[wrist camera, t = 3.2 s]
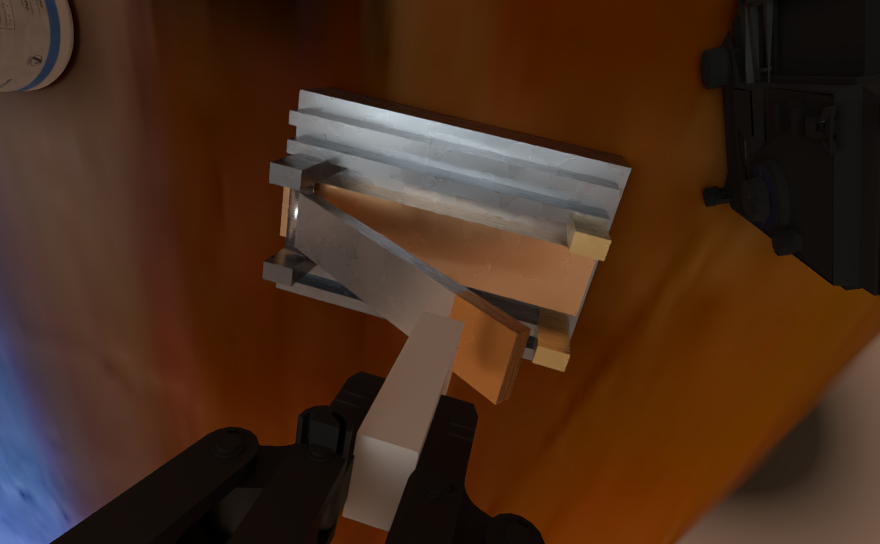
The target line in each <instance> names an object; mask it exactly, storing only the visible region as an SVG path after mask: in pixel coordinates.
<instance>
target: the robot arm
mask: <svg viewBox="0 0 880 544" xmlns="http://www.w3.org/2000/svg"><path fill="white" fill-rule="evenodd" d="M464 323H465V322H462V321H459V320H455V319H452V318H448V317H445V316H441V315H437V314H434V313H430V312H427V311H423V312H422V314H421V316H420V317H419V319H418V321H417V323H416V325H415V327H414V329H413V330H412V332H411V334H410V336H409V338H408V340H407V341H406V343H405V345H404V347H403V349H402V351H401V352H400V354H399V356H398V358H397V360H396V362H395V364H394V365H393V367H392V369H391V371H390V373H389V375H388V376H387V378H386V379H385V378H381V377H378V376H375V375H371V374H368V373H365V372H361V371H360V372H359V373H357V374H355V375H353V376H352V377H350V378H348V379H347V381H346V382H345V384H344V385H343V387H342V388H341V390H340V392H339V393H338V394H337V396H336V397H335V400H333V402H332V403H331V405H330V406H326V405H323V406H314V407H312V408H309V409H306V410H305V411H304V412H302V413H301V414H300V415H299V416H298V425H297V434H296V443H295V444H292V445H288V446H262V445H259V443H258V440H257V437H256V436H255V435H254V434H253V433H252V432H251V431H249V430H246V429H243V428H239V427H227V428H222V429H218V430H216V431H214V432H211V433H209V434H208V435H206V436H205V437H203V438H202V439H200V440H199V441H197V442H196V443H195V444H193V445H192V446H190V447H189V448H187V449H186V450H184V451H183V452H182V453H180V454H179V455H177V456H176V457H174V458H173V459H171V460H170V461H168V462H167V463H166V464H164V465H163V466H161V467H160V468H158V469H157V470H155V471H154V472H153V473H151V474H150V475H148V476H147V477H145V478H144V479H142V480H141V481H140V482H138V483H137V484H135V485H134V486H132V487H131V488H129V489H128V490H127V491H125V492H124V493H122V494H121V495H119V496H118V497H116V498H115V499H113V500H112V501H111V502H109V503H108V504H106V505H105V506H103V507H102V508H100V509H99V510H98V511H96V512H95V513H93V514H92V515H90V516H89V517H87V518H86V519H85V520H83V521H82V522H80V523H79V524H77V525H76V526H74V527H73V528H72V529H70V530H69V531H67V532H66V533H64V534H63V535H61V536H60V537H59V538H57V539H56V540H54V541H53V542H51V543H50V544H330V543H331V541H332V539H333V537H334V534H335V529H336V524H337V519H338V517H339V515H340V513H341V511H342V509H343V506H344V510H343V517H346V518H349V519H352V520H355V521H358V522H361V523H364V524H367V525H370V526H373V527H376V528H379V529H382V530H385V531H388V532H389V533H388V536H387V539H386V541H385V544H545V543H544V540H543V538H542V536H541V534H540V532H539V531H538V529H537V528H536V527H535V526H534V525H533V524H532V523H531V522H529V521H528V520H526V519H525V518H523V517H521V516H518V515H514V514H511V513H508V514H499V515H497V516H495V517H493V518H492V517H490V516H489V515H487V514H486V513H484V512H483V511H481V510H480V509H479V508H478V507H476V506H475V505H474V504H473V502H472V501H471V500H470V499H469V497H468V495H467V493H466V490H465V486H464V482H465V475H466V470H467V466H468V461H469V456H470V452H471V447H472V443H473V438H474V433H475V429H476V424H477V420H478V415H477V412H476V409H475V406H474V404H472V403H469V402H465V401H462V400H459V399H455V398H452V397H449V396H445V395H446V392H447V389H448V386H449V382H450V379H451V375H452V371H453V367H454V363H455V359H456V355H457V351H458V347H459V343H460V339H461V335H462V331H463V327H464ZM344 504H345V505H344Z"/></svg>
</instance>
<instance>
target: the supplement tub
mask: <svg viewBox="0 0 880 544" xmlns="http://www.w3.org/2000/svg"><path fill="white" fill-rule="evenodd" d="M73 44H74V27H73V20H72V15H71V10H70V7H69V3H68V0H0V92H15V91H32V90H37V89H41V88H43V87H45V86H47V85H49V84H50V83H52V82H53V81H55V80H56V79H57V78H58V77H59V76H60V75H61V73H62V72H63V71H64V69H65V68H66V66H67V64H68V62H69V60H70V57H71V54H72V50H73Z"/></svg>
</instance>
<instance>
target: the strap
mask: <svg viewBox="0 0 880 544" xmlns="http://www.w3.org/2000/svg"><path fill="white" fill-rule="evenodd" d="M285 248H286V249H287V250H289V251H292V252H302V253H303V254H304V255H306V256H307V257H308V258H309V259H311V260H312V261H313V262H315V263H316V264H317V265H318V266H320V267H321V268H322V269H323V270H325V271H326V272H327V273H328V274H330V275H331V276H332V277H334V278H335V279H336V280H337V281H339V282H340V283H341V284H342V285H344V286H345V287H346V288H348V289H349V290H350V291H351V292H353V293H354V294H355V295H356V296H358V297H359V298H360V299H361V300H363V301H364V302H365V303H367V304H368V305H369V306H370V307H372V308H373V309H374V310H375V311H377V312H378V313H379V314H381V315H382V316H383V317H384V318H386V319H387V320H388V321H389V322H391V323H392V324H393V325H394V326H396V327H397V328H398V329H400V330H401V331H402V332H403V333H405V334H406V335H407V336H408V337H409V336H410V334H411V332H412V330H413V329H414V327H415V325H416V323H417V321H418V319H419V317H420V316H421V314H422V312H423V311H427V312H430V313H434V314H437V315H441V316H445V317H448V318H452V319H455V320H459V321H462V322H465V323H464V327H463V331H462V335H461V339H460V343H459V347H458V351H457V355H456V359H455V363H454V367H453V372H454V373H455V374H457V375H458V376H459V377H461V378H462V379H463V380H464V381H466V382H467V383H468V384H469V385H471V386H472V387H473V388H474V389H476V390H477V391H478V392H480V393H481V394H482V395H483V396H485V397H486V398H487V399H488V400H490V401H491V402H492V403H494V404H495V405H496V404H498V403H500V402H502V401H504V400H506V399H508V398H509V397H510V394H511V391H512V388H513V385H514V382H515V378H516V375H517V372H518V369H519V366H520V363H521V359H522V356H523V353H524V350H525V347H526V344H527V340H528V337H529V334H530V331H531V328H529V327H528V326H526V325H524V324H523V323H521V322H520V321H518V320H516V319H515V318H513V317H512V316H510V315H508V314H507V313H505V312H504V311H502V310H501V309H499V308H497V307H496V306H494V305H493V304H491V303H489V302H488V301H486V300H485V299H483V298H481V297H480V296H478V295H477V294H475V293H473V292H472V291H470V290H469V289H467V288H465V287H464V286H462V285H461V284H459V283H457V282H456V281H454V280H453V279H451V278H449V277H448V276H446V275H445V274H443V273H441V272H440V271H438V270H437V269H435V268H433V267H432V266H430V265H429V264H427V263H425V262H424V261H422V260H421V259H419V258H417V257H416V256H414V255H413V254H411V253H410V252H408V251H406V250H405V249H403V248H402V247H400V246H398V245H397V244H395V243H394V242H392V241H390V240H389V239H387V238H386V237H384V236H382V235H381V234H379V233H378V232H376V231H374V230H373V229H371V228H370V227H368V226H366V225H365V224H363V223H362V222H360V221H358V220H357V219H355V218H354V217H352V216H350V215H349V214H347V213H346V212H344V211H342V210H341V209H339V208H338V207H336V206H334V205H333V204H331V203H330V202H328V201H326V200H325V199H323V198H322V197H320V196H319V195H317V194H315V193H314V184H313V185H311V186H309V187H307V188H304V189H302V190H300V191H299V190H296V189H292V188H290V195H289V206H288V218H287V230H286V242H285Z"/></svg>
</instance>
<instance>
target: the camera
mask: <svg viewBox="0 0 880 544" xmlns="http://www.w3.org/2000/svg"><path fill="white" fill-rule="evenodd" d="M733 27H734V40H735V44H732V41H731V37H730V33H729V31H728V33H727V35H726V37H725V39H724V41H723V43H722V46H721V47H719V48H714V49H709V50H705V51H704V52H703V54H702V57H701V74H702V80H703V84H704V86H705V88H706V89H707V90H708V89H712V88H716V87H719V86H723V95H724V112H725V128H726V145H727V161H728V176H727V180H726V184H725V189H724V188H719V189H721V190H719V189H718V188H717V186H715V187H711V188H707V189H705V190H704V192H703V195H704V202H705V205H706V207H708V206H715V205H717V204H723V203H730V206H731V208H732V209H733V210H735V211H736V212H737V213H739V214H740V215H741V216H743V217H744V218H745V219H747V220H748V221H749V222H750V223H752V224H753V225H754V226H756V227H757V228H758V229H760V230H761V231H762V232H764V233H765V234H766V235H768V236H769V237H770V238H771V239H772V245H773V249H774V251H775V253H776V254H777V255H778V256H783V255H790V254H792V255H794V256H795V257H796V258H798V259H799V260H800V261H802V262H803V263H804V264H806V265H807V266H808V267H810V268H811V269H812V270H813V271H815V272H816V273H817V274H819V275H820V276H821V277H823V278H824V279H825V280H827V281H828V282H829V283H831V284H832V285H833V286H841V287H842V288H844V289H845V290H853V289H860V288H863V289H865V290H866V291H868V292H869V293H871V294H873V295H874V296H875V295H880V0H738V16H737V17H736V19H735V21H734V23H733Z"/></svg>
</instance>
